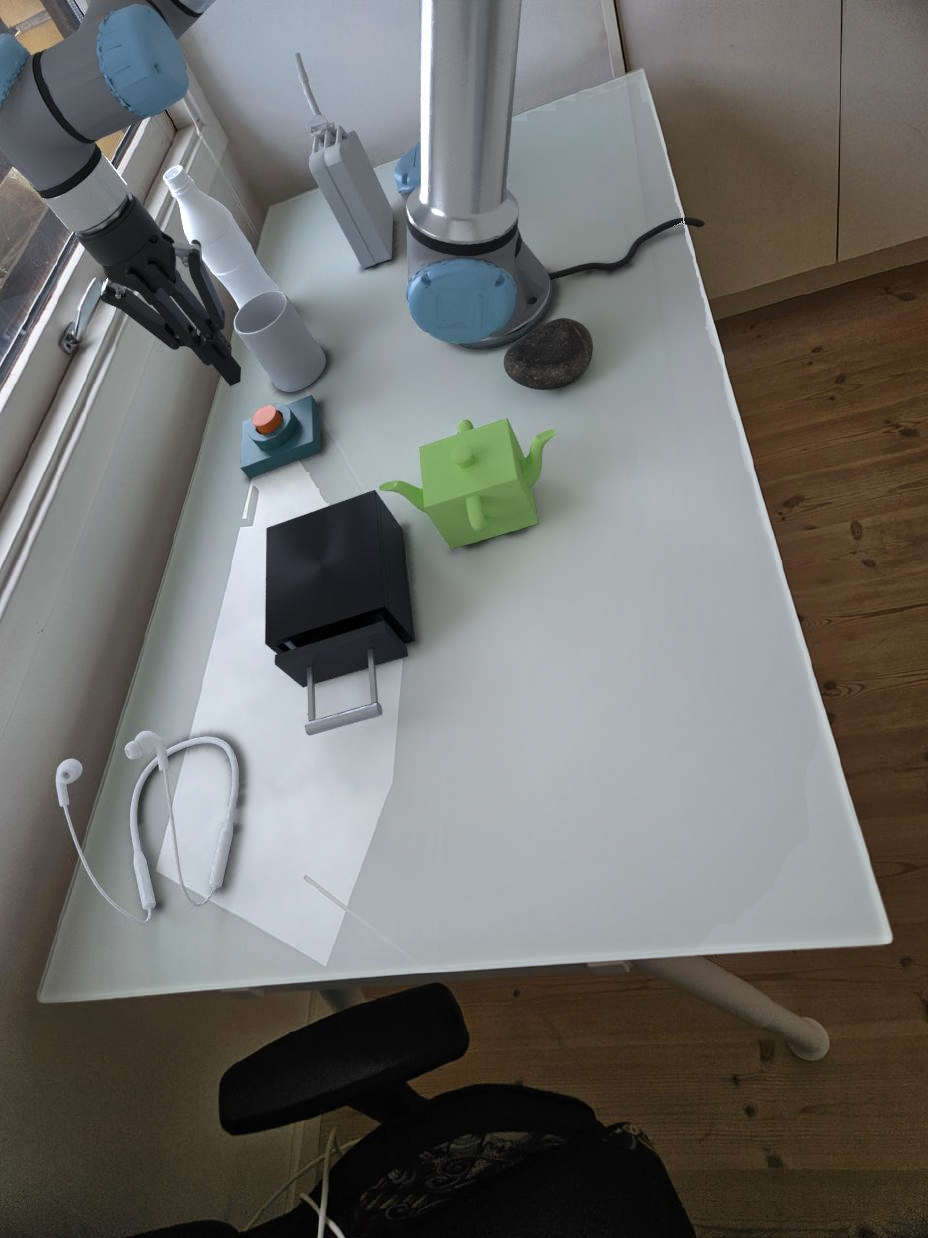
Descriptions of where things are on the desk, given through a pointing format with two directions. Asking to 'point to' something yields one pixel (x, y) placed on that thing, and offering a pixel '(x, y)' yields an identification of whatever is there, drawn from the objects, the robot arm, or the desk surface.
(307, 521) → the black box
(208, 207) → the water bottle
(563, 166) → the desk surface
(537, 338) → the stone
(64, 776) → the earphone
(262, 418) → the stop button
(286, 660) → the drawer
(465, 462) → the teapot
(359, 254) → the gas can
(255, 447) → the stop button base
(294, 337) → the mug
